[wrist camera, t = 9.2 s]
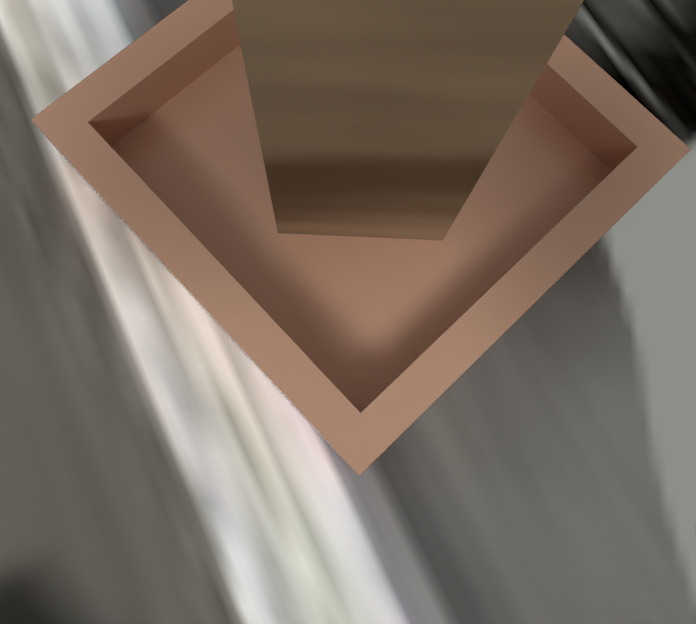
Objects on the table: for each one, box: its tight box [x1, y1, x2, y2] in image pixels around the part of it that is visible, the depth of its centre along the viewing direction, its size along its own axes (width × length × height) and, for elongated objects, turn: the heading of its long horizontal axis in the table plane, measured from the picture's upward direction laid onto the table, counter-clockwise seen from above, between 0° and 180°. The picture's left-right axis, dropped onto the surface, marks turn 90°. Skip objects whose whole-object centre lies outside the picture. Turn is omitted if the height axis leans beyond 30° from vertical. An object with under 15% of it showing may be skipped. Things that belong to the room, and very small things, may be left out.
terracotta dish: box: [31, 0, 690, 475], centre depth 17 cm, size 12×12×2 cm
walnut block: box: [232, 0, 584, 240], centre depth 13 cm, size 4×4×10 cm
